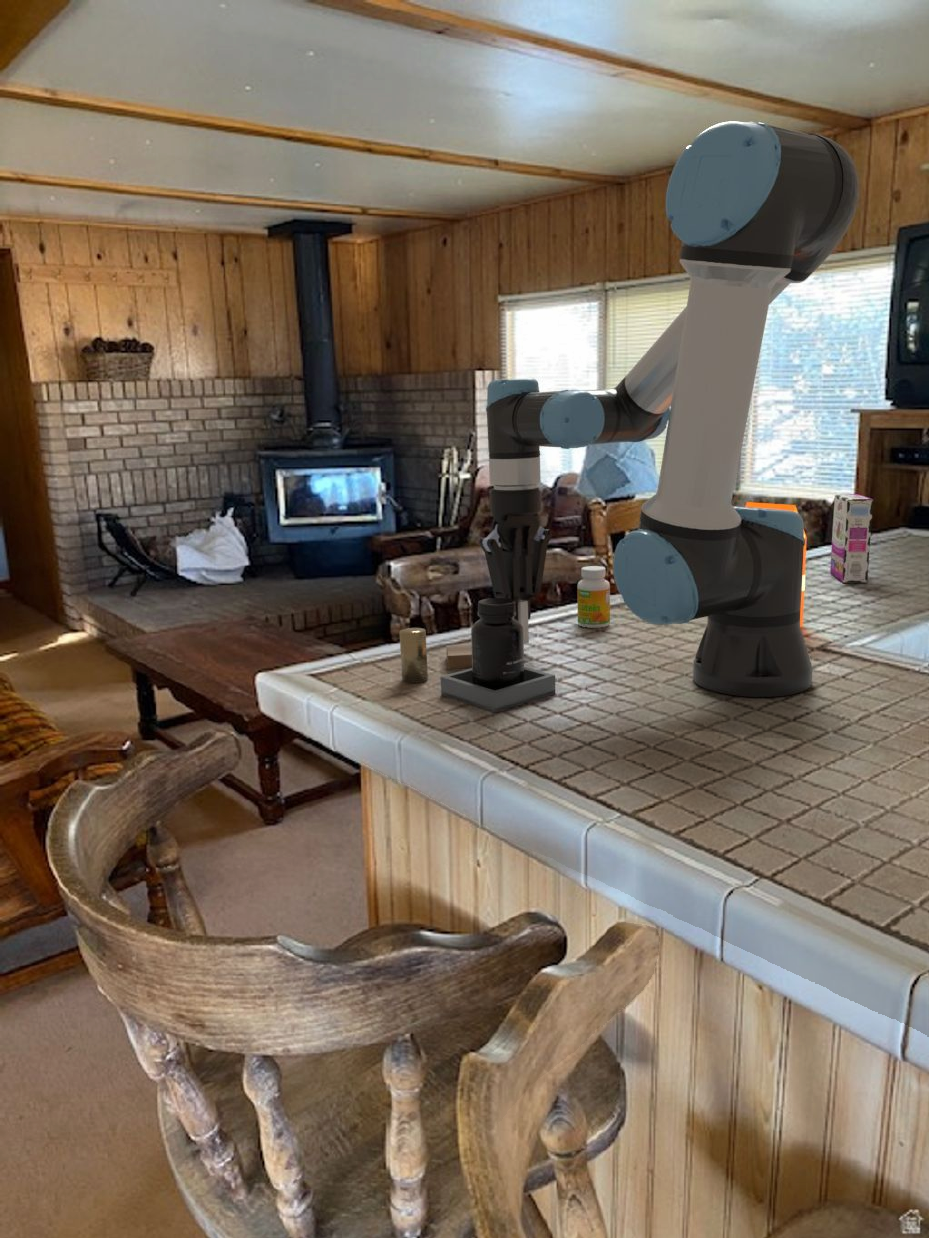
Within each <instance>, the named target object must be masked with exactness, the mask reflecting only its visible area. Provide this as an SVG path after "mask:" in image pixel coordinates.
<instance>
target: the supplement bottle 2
mask: <svg viewBox="0 0 929 1238" xmlns="http://www.w3.org/2000/svg"><path fill="white" fill-rule="evenodd" d="M606 571H607V570H606V567H604V566H598V565H591V566H590V565H589V566H588V565H587V566H583V567H581V573H580V574H581V578H582V579H581V580H579V581H578V583H577V586H576V587H577V591H576V592H577V625H578V626H579V627H581V626H582V628H585V627H587V628H586V629H600V628H601V627H602V628H607V627H608V626H610V623H611V585H610V582H609V581H608V580H606V579H605V577H606V574H607V573H606ZM602 628H601V629H602Z"/></svg>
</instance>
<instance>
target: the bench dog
mask: <svg viewBox="0 0 929 1238" xmlns="http://www.w3.org/2000/svg"><path fill="white" fill-rule="evenodd" d="M426 633H427V632H426V629H425V628H421V627H407V628H404V629H401V630H399V647H400V664H401V681H402V682H403V683H405V684H420V683H425V682H427V681H428V680H429V675H428V674H429V671H428V653H427V652H428V651H427V634H426Z"/></svg>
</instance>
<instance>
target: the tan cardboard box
mask: <svg viewBox="0 0 929 1238" xmlns="http://www.w3.org/2000/svg"><path fill="white" fill-rule="evenodd" d="M445 649H446V651H445V652H446V662H447V668H448V671H453V670H454V671H456V670H457V671H460V670H467V669H470V668H472V649H471V644H469V643H468V644H452V645H446V646H445Z"/></svg>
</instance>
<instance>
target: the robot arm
mask: <svg viewBox="0 0 929 1238" xmlns="http://www.w3.org/2000/svg"><path fill="white" fill-rule="evenodd" d="M676 161H677V162H676V163H675V165H674V167H673V169H672V172H671V174H670V177H669V180H668V183H667V188H666V192H665V193H666V194H665V195H666V196H665V213H666V217H667V220H668V221H670V222H671V224H670V229H671V230H672V233H673V234H674V235H675V236H676V238H678V239H679V240H680V241H682V243H681V251H680V257H679V264H680V265H681V266H682V267H683V269H684V270H685V272H686V273H687V275H688V276H689V277H688V278H689V280H690V285H689V291H688V295H687V303H686V306H685V307H684V308H683V310H682V311H681V312H680V313H679V314H678V316H677V317H676V318H675V319H674V320H673V321H672V322H671V323H670V325H669V326H668V327H667V328H666V329H665V330H664V331H663V333H662V334H661V335H659V337H658V338H657V339H656V341H655V342H654V343H653V344H652V346H650V348H649V349H648V350H647V351H646V352H645V353H644V354H643V356H642V357H641V358H640V359H639V360H638V362H637V363H636V364H635V365H634V366H633V367H632V369H630V370H629V372H628V373H627V374H626V375H625V376H624V377H623V379H621V381H620V382H619V383H618V384H617V385H616V386H615V387H613V388H607V389H605V388H603V389H602V388H601V389H582V390H581V389H562V390H554V391H541V392H540V386H539V382H538V380H537V379H535V378H531V377H529V378H528V377H527V378H508V379H504V378H503V379H493V380H491V381H490V382H489V383H488V385H487V389H486V390H487V394H486V395H487V396H486V407H485V411H486V423H487V426H486V427H487V446H488V472H489V479H488V480H489V485H491V486H492V487H493V488H491V489H490V491H489V509H490V514H491V515H492V517H493V521H492V525H491V532H490V533H489V534H488V535H487V536H486V537H481V538H479V541H478V544H479V545H480V547H481V550H482V551H483V552H484V555H485V559H486V564H487V565H486V566H487V569H488V573H489V577H490V582H491V587H492V591H493V596H494V597H495V598H507V599H512V600H514V601H515V611H516V615H515V616H514V619H515V620H517V621H519V622H520V623H521V625H522V626H523V632H524V645H525V644H526V645H527V644H529V643H530V641H529V640H530V638H529V635H530V634H529V620H530V619H531V615H532V613H531V601H535V600H536V598H537V595H538V594H540V593H541V590H542V585H543V578H544V571H545V563H546V558H547V552H548V545H549V543H550V540H551V538H552V536H553V531H552V530H551V529H547V528H546V529H545V528H544V527H543V526H541V521H540V518H539V516H538V514H539V513H540V512H541V510H542V496H541V495H542V492H541V491H542V490H541V489H540V487H538V485H539V484H541V481H542V480H541V478H542V477H541V457H540V456H541V451H540V447H548V448H560V449H564V450H570V449H578V448H579V449H581V448H585V447H588V446H593V445H601V444H616V443H640V442H643V441H646V440H652V439H655V438H657V437H659V436H660V435H661V434H663V433H664V432H665V431H666V433H665V434H666V435H665V441H664V446H663V452H662V459H661V466H660V473H659V478H658V485H657V490H656V493H655V494H654V495H652V496H651V497H650V498H649V499H647V500H645V501H644V502H643V503H642V505H641V509H640V510H641V511H640V515H639V523H638V529H636V530H632V531H630V532H629V533H627V534H626V535H624V538H622V539H620V540H619V541H618V543H617V544H616V548H615V550H614V553H613V559H612V560H613V561H612V569H613V571H612V573H613V578H614V583H615V587H616V588H617V591H618V594H620V595H621V597H622V599H623V603H624V605H626V606H627V608H628V609H629V610H630V611H631V612H632V614H634V616H636V617H637V618H639V619H640V620H642V621H644V622H646V623H648V624H651V625H655V626H667V625H683V624H686V623H689V622H690V621H692V620H693V621H694V620H697V619H701V618H706V617H707V622H706V626H705V629H704V632H703V634H702V636H701V640H700V642H699V645H698V648H697V651H696V654H695V657H694V660H693V663H692V680H693V682H694V683H695V684H696V685H699V686H700V687H702V688H704V689H706V690H708V691H712V692H716V693H720V694H725V695H731V696H737V697H738V696H740V697H750V698H751V697H752V698H775V697H784V696H790V695H795V694H798V693H802V692H804V691H806V690H808V689H810V688H811V687H812V684H813V665H812V662H811V658H810V655H809V651H808V648H807V644H806V641H805V638H804V634H803V631H802V627H800V614H801V594H802V573H803V551H804V545H805V539H804V532H805V529H804V528H805V526H804V519H803V517H802V516H801V514H800V513H799V512H798V511H797V512H798V513H797V512H794V511H789V510H778V509H766V508H753V507H745V506H735V505H733V503H732V501H733V500H732V499H733V496H734V490H735V484H736V479H737V475H738V468H739V463H740V458H741V451H742V447H743V442H744V437H745V432H746V426H747V422H748V417H749V410H750V406H751V401H752V396H753V391H754V385H755V380H756V375H757V369H758V363H759V359H760V354H761V347H762V343H763V338H764V332H765V327H766V321H767V316H768V314H769V313H768V312H769V306H770V305H771V304H772V303H773V301H775V300H776V299H777V297H779V295H780V294H782V293H783V291H784V290H785V289H786V288H787V287H788V286H789V285H791V284H800V283H803V282H805V281H806V280H807V279H808V278H809V277H810V276H811V275H812V274H813V273H814V272H815V271H816V270H817V269H818V268H819V267H820V266H821V265H822V264H823V263H824V262H825V261H826V260H827V258H828V257H829V256H831V254H832V253H833V251H834V250H835V248H837V246H838V244H839V243H840V242H841V241H842V239H843V238H844V237H845V234H846V233H847V232H848V230H849V228H850V226H851V224H852V222H853V220H854V217H855V215H856V212H857V211H856V210H857V208H858V203H859V198H860V197H859V196H860V183H859V182H860V181H859V179H860V178H859V175H858V172H857V171H858V170H857V168H856V166H855V163H854V161H853V159H852V157H851V156H850V155H849V153H848V152H847V151H846V149H845V148H844V147H843V146H841V145H840V144H839V143H838V142H836V141H834V140H832V139H831V138H829V137H826V136H824V135H820V134H814V133H805V132H801V131H796V130H791V129H788V128H783V127H778V126H774V125H770V124H766V123H763V122H754V121H749V122H747V121H745V122H744V121H725V122H720V123H717V124H713V126H710V127H708V128H707V129H705V130H703V131H701V132H700V133H699V134H698V135H696V137H695V138H694V140H693V142H691V144H689V145H687V146H686V147H685V148H684V149H683V151H682V153H681V154H680V156H679V157H678V159H677V160H676ZM536 594H537V595H536Z"/></svg>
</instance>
